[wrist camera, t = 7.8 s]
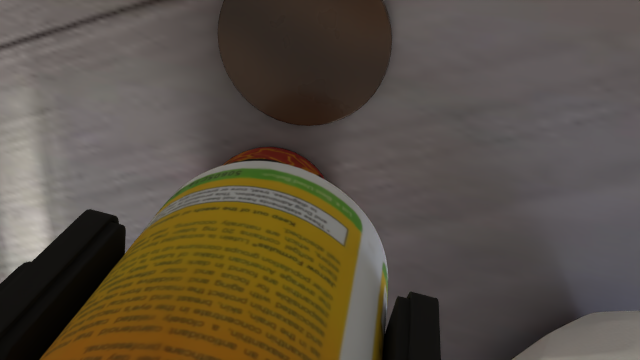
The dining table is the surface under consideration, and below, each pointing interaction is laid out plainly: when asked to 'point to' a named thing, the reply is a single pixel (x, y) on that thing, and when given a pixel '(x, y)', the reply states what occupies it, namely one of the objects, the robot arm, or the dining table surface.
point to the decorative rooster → (591, 339)
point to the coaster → (305, 55)
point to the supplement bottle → (242, 276)
